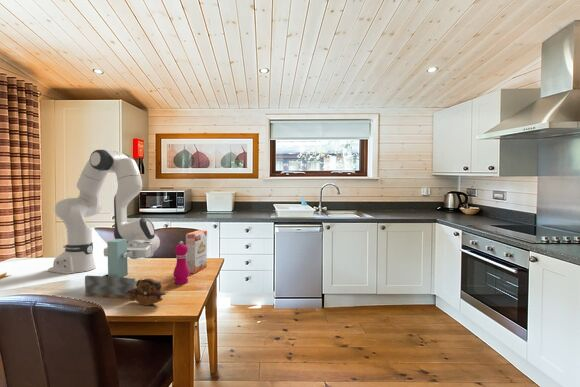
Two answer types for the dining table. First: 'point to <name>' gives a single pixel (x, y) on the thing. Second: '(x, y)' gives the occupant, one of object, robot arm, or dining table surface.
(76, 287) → the dining table surface
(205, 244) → the cracker box
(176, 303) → the dining table surface
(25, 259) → the dining table surface
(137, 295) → the wooden carving
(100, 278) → the grey speckled box
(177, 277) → the pepper mill
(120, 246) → the grey-green rectangular block
